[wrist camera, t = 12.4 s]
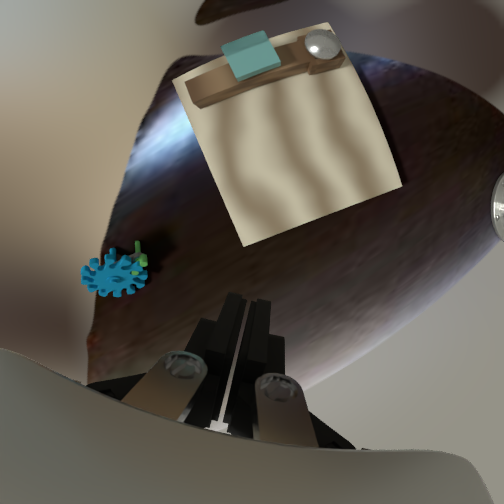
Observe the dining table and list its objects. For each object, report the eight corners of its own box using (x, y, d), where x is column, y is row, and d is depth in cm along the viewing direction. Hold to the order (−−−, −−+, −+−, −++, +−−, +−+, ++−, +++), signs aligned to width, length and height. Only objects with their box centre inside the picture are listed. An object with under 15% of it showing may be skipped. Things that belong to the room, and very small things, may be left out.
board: (326, 27, 29) (327, 22, 28) (397, 185, 34) (402, 186, 33) (175, 83, 33) (172, 80, 32) (245, 243, 38) (243, 246, 37)
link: (326, 40, 28) (330, 29, 25) (339, 67, 29) (345, 58, 26) (191, 85, 31) (182, 77, 28) (202, 113, 32) (194, 107, 29)
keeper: (266, 50, 30) (263, 30, 24) (280, 78, 31) (280, 61, 25) (229, 64, 31) (220, 46, 25) (242, 92, 32) (236, 78, 26)
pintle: (324, 42, 29) (330, 25, 24) (338, 67, 30) (347, 53, 25) (296, 50, 29) (298, 33, 25) (309, 76, 30) (314, 62, 25)
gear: (108, 306, 41) (65, 280, 33) (107, 275, 45) (68, 245, 36) (166, 283, 41) (128, 250, 32) (162, 251, 44) (127, 214, 36)
